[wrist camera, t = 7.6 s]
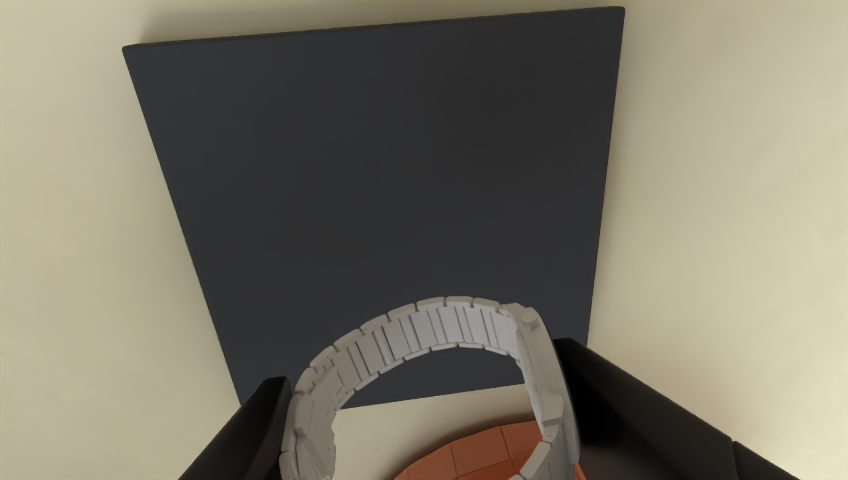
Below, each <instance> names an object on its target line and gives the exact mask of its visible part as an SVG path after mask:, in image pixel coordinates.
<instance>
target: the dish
mask: <svg viewBox="0 0 848 480" xmlns="http://www.w3.org/2000/svg"><path fill="white" fill-rule="evenodd" d="M542 437H543V436H542V434H541V431H540V428H539V425H538V423H537V420H535V421H528V422H521V423H515V424H508V425H502V426H501V427H500V426H497V427H494V428H491V429H488V430H485V431H482V432H479V433H476V434H473V435H470V436H467V437H464V438H461V439H458V440H456V441H453V442H451V443H448V444H446V445H444V446H443V447H441V448H439V449H437V450H436V451H434V452H432V453H430V454H429V455H427V456H425V457H423V458H421V459H420V460H418V461H416V462H414V463H413V464H411V465H409V466H408V468H406V469H405V470H404V471H402V472H401V473H400V474H399V475H398V476H397V477H396V478H395V479H394V480H508V479H510V478H511V477H513V476H515V475H516V474H517V475H520V476H521V473H520V470H521V469H522V467H523V466H524V465H525V463H526V462H527V460H528V459H529V458H530V456H531V455H532V453H533V452H534V450H535V448H536V447H537V445H538V443H539V442H543V438H542ZM575 468H576V472H575V476H574V480H586V478H585V476H584V474H583V472H582V470H581V468H580V466H579V464H578V463H577V464H575Z"/></svg>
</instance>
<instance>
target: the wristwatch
mask: <svg viewBox="0 0 848 480" xmlns="http://www.w3.org/2000/svg"><path fill="white" fill-rule="evenodd" d="M445 300H446V301H445ZM427 312H428V313H427ZM387 314H388V316H389V318H388V319H387V316H386V315H385V314H384V315H380V316H378V317H376V318H374V319H372V320H370V321H368V322H366V323H365V324H363V325H362V326H361V327H360V328H361V331H362V332H360V330H359V329H355V330H353V331H351V332H350V333H348V334H346V335H345V336H343V337H341V338H340V339H338V340H337V341H336V342H334V347H335V349H334V347H333V346H329V347H328V348H326V349H324V350H323V351H322V352H321V353H320V354H319V355H318V356H317V357H316V358H315V359H314V360H313V361H312V362H311V363H310V367H311V368H307V369H306V370H305V371H304V372H303V374H302V375H301V377H300V379H299V381H298V383H297V384H296V387H295V392H296V395H294V396H293V397H292V399H291V401H290V404H289V408H288V413H287V419H286V424H285V430H284V436H283V441H282V446H281V451H282V454H281V455H280V457H279V465H280V471H281V476H282V479H283V480H323V479H324V480H332V477H333V474H334V470H335V459H336V446H335V444H334V443H333V442H334V433H333V431H332V429H331V424H332V422H333V420H334V417H335V415H336V413H335V411H338V410H339V409H340V408H341V407H342V406H343V405H344V404H345V402H346V401H347V400H348V399H349V398H350V397H351V396H352V395H353V394H354V393H355V392H354V390H353V388H354V389H356V390H360V389H361V388H363V387H364V386H365V385H367V384H368V383H370V382H371V381H373V380H374V379H376V378H377V377H378V372H377V371H379V372H380V373H381V374H383V373H385V372H386V371H388V370H390V369H392V368H394V367H396V366H397V365H399V364H401V363H403V358H402V357H404V358H405V360H409V359H412V358H414V357H417V356H420V355H423V354H425V353H428V352H429V351H430V349H429V347H431V348H432V350H433V351H435V350H441V349H446V348H452V347H456V346H457V344H459V346H460V347H469V348H483V347H484V346H485V349H486V350H489V351H493V352H496V353H500V354H503V355H508V354H509V353H510V356H512V357H513V358H515V359H516V364H517V365H518V366H519V367H520V368H521V369H522V372H523V376H524V380H525V384H526V387H527V391H528V394H529V397H530V401H531V404H532V407H533V411H534V414H535V417H536V420H537V423H538V425H539V428H540V431H541V434H542V436H543V437H542V438H543V442H539V443H538V445H537V447H536V448H535V450H534V452H533V453H532V455H531V456H530V458H529V459H528V460H527V462H526V463H525V465H524V466H523V467H522V469H521V470H520V473H521V476H520V475H517V474H516V475H515V476H513V477H511V478H510V479H508V480H574V476H575V472H576V468H575V464H577V463H578V462H579V456H580V455H581V454H582V443H581V437H580V431H579V426H578V422H577V418H576V413H575V409H574V405H573V402H572V398H571V394H570V390H569V387H568V384H567V380H566V377H565V374H564V371H563V368H562V364H561V361H560V359H559V356H558V353H557V350H556V347H555V345H554V342H553V339H552V337H551V334H550V332H549V329H548V327H547V325H546V323H545V321H544V319H543V317H542V315H541V314H540V313H539V312H536V311H535V310H534V309H533V308H532V307H528V308H525V307H523V306H521V305H519V304H518V303H512V304H502V305H501V306H500V304H499V303H498V302H497V301H492V300H487V299H483V298H474V300H473V298H472V297H469V296H449V297H446V299H444V297H436V298H431V299H426V300H421V301H419V302H417V308H416V307H415V305H414V303H413V304H408V305H405V306H402V307H400V308H397V309H394V310H391V311H390V312H388V313H387ZM409 315H410V316H411V319H412V322H413V325H414V327H413V325H412V322H411V319H410V316H409ZM428 315H429V316H428ZM429 318H430V319H429ZM399 321H400V322H399ZM430 321H431V322H430ZM400 323H401V325H400ZM431 324H432V325H431ZM401 326H402V328H401ZM432 327H433V328H432ZM382 328H383V330H384V333H385V335H386V338H387V340H388V343H389V345H390V348H391V350H392V353H393V356H392V353H391V350H390V348H389V345H388V343H387V340H386V338H385V335H384V333H383V330H382ZM414 328H415V330H416V333H417V336H418V339H419V342H420V345H419V342H418V339H417V336H416V333H415V330H414ZM402 329H403V330H402ZM433 330H434V331H433ZM403 332H404V333H403ZM434 333H435V334H434ZM372 334H373V335H372ZM404 334H405V336H404ZM373 336H374V337H373ZM435 336H436V337H435ZM405 337H406V338H405ZM406 340H407V341H406ZM375 341H376V342H375ZM407 342H408V344H407ZM408 345H409V347H408ZM377 346H378V347H377ZM357 347H358V348H357ZM379 351H380V352H379ZM380 353H381V354H380ZM360 354H361V355H360ZM381 356H382V357H381ZM382 358H383V359H382ZM364 363H365V364H364ZM367 370H368V371H367Z"/></svg>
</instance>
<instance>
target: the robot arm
mask: <svg viewBox="0 0 848 480" xmlns="http://www.w3.org/2000/svg"><path fill="white" fill-rule="evenodd" d="M553 342H554V345H555V347H556V350H557V353H558V356H559V359H560V361H561V364H562V368H563V371H564V374H565V377H566V380H567V384H568V387H569V390H570V394H571V398H572V402H573V405H574V409H575V413H576V418H577V422H578V426H579V431H580V437H581V443H582V454H581V455H580V456H579V462H578V464H579V466H580V468H581V470H582V472H583V474H584V476H585V478H586V480H800V479H798V478H796V477H795V476H793V475H791V474H789V473H788V472H786V471H784V470H783V469H781V468H779V467H778V466H776V465H774V464H773V463H771V462H769V461H768V460H766V459H764V458H763V457H761V456H760V455H758V454H756V453H755V452H753V451H751V450H750V449H748V448H747V447H745V446H744V445H742V444H740V443H739V442H737V441H733V442H732V439H731V438H730V437H729V436H727V435H726V434H724V433H723V432H721V431H719V430H718V429H716V428H715V427H713V426H711V425H710V424H708V423H707V422H705V421H703V420H702V419H700V418H699V417H697V416H695V415H694V414H692V413H691V412H689V411H687V410H686V409H684V408H683V407H681V406H680V405H678V404H676V403H675V402H673V401H672V400H670V399H668V398H667V397H665V396H664V395H662V394H660V393H659V392H657V391H656V390H654V389H652V388H651V387H649V386H648V385H646V384H644V383H643V382H641V381H640V380H638V379H636V378H635V377H633V376H632V375H630V374H629V373H627V372H625V371H624V370H622V369H621V368H619V367H617V366H616V365H614V364H613V363H611V362H609V361H608V360H606V359H605V358H603V357H601V356H600V355H598V354H597V353H595V352H593V351H592V350H590V349H589V348H587V347H585V346H584V345H582V344H581V343H579V342H578V341H576V340H574V339H573V338H570V337H565V338H558V339H553ZM292 397H293V394H292V390H291V387H290V383H289V380H288V378H287V377H285V376H279V377H272V378H267V379H265V380H264V381H262V383H261V384H260V385H259V386H258V387H257V388H256V390H255V391H254V392H253V393H252V394H251V395H250V397H249V398H248V399H247V400H246V401H245V402H244V404H243V405H242V406H241V407H240V408H239V409H238V411H237V412H236V413H235V414H234V415H233V416H232V417H231V419H230V420H229V421H228V422H227V423H226V424H225V426H224V427H223V428H222V429H221V430H220V431H219V433H218V434H217V435H216V436H215V437H214V438H213V440H212V441H211V442H210V443H209V444H208V445H207V447H206V448H205V449H204V450H203V451H202V452H201V454H200V455H199V456H198V457H197V458H196V459H195V461H194V462H193V463H192V464H191V465H190V466H189V467H188V469H187V470H186V471H185V472H184V473H183V474H182V476H181V477H180V478H179V479H178V480H283V479H282V476H281V471H280V465H279V457H280V455H281V454H282V451H281V446H282V441H283V436H284V430H285V424H286V419H287V413H288V408H289V404H290V401H291V399H292Z"/></svg>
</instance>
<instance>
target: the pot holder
mask: <svg viewBox="0 0 848 480" xmlns="http://www.w3.org/2000/svg"><path fill="white" fill-rule="evenodd" d="M624 17H625V8H624V7H620V6H608V7H595V8H583V9H570V10H558V11H545V12H532V13H520V14H507V15H495V16H482V17H469V18H457V19H444V20H432V21H419V22H406V23H394V24H381V25H369V26H356V27H343V28H331V29H318V30H306V31H293V32H280V33H268V34H255V35H243V36H230V37H217V38H205V39H192V40H180V41H167V42H154V43H142V44H133V45H128V46H124V47H122V52H123V55H124V58H125V61H126V64H127V67H128V70H129V73H130V76H131V79H132V82H133V85H134V88H135V91H136V94H137V97H138V100H139V103H140V106H141V109H142V112H143V115H144V118H145V121H146V124H147V127H148V130H149V133H150V136H151V139H152V142H153V145H154V148H155V151H156V154H157V157H158V160H159V163H160V166H161V169H162V172H163V175H164V178H165V181H166V184H167V187H168V190H169V193H170V196H171V199H172V202H173V205H174V208H175V211H176V214H177V217H178V220H179V223H180V226H181V229H182V232H183V235H184V238H185V241H186V243H187V246H188V249H189V252H190V255H191V258H192V261H193V264H194V267H195V270H196V273H197V276H198V279H199V282H200V285H201V288H202V291H203V294H204V297H205V300H206V303H207V306H208V309H209V312H210V315H211V318H212V321H213V324H214V327H215V330H216V333H217V336H218V339H219V342H220V345H221V348H222V351H223V354H224V357H225V360H226V363H227V366H228V369H229V372H230V375H231V378H232V381H233V384H234V387H235V390H236V393H237V396H238V399H239V402H240V405H241V406H242V405H243V404H244V402H245V401H246V400H247V399H248V398H249V397H250V395H251V394H252V393H253V392H254V391H255V390H256V388H257V387H258V386H259V385H260V384H261V383H262V381H264V380H265V379H267V378H272V377H279V376H285V377H287V378H288V380H289V383H290V387H291V390H292V394H293V396H294V395H296V392H295V387H296V384H297V383H298V381H299V379H300V377H301V375H302V374H303V372H304V371H305V370H306V369H307V368H311V367H310V363H311V362H312V361H313V360H314V359H315V358H316V357H317V356H318V355H319V354H320V353H321V352H322V351H323V350H324V349H326V348H328V347H329V346H333V347H334V342H336V341H337V340H338V339H340V338H341V337H343V336H345V335H346V334H348V333H350V332H351V331H353V330H355V329H359V330H360V332H362V331H361V328H360V327H361V326H362V325H363V324H365V323H366V322H368V321H370V320H372V319H374V318H376V317H378V316H380V315H384V314H385V315H386V316H387V319H388V318H389V316H388V314H387V313H388V312H390V311H391V310H394V309H397V308H400V307H402V306H405V305H408V304H413V303H414V305H415V307H416V308H417V302H419V301H421V300H426V299H431V298H436V297H444V299H446V297H449V296H469V297H472V298H473V300H474V298H483V299H487V300H492V301H497V302H498V303H499V304H500V306H501V305H502V304H512V303H518V304H519V305H521V306H523V307H525V308H528V307H532V308H533V309H534V310H535V311H536V312H539V313H540V314H541V315H542V317H543V319H544V321H545V323H546V325H547V327H548V329H549V332H550V334H551V337H552V339H558V338H565V337H570V338H573V339H574V340H576V341H578V342H579V343H581V344H582V345H584V346H585V347H587V340H588V331H589V323H590V314H591V305H592V296H593V288H594V279H595V270H596V261H597V253H598V244H599V235H600V226H601V218H602V209H603V200H604V191H605V183H606V174H607V165H608V156H609V148H610V139H611V130H612V121H613V113H614V104H615V95H616V87H617V78H618V69H619V60H620V52H621V43H622V34H623V25H624ZM445 301H446V300H445ZM427 313H428V312H427ZM409 316H410V315H409ZM428 316H429V315H428ZM410 319H411V316H410ZM429 319H430V318H429ZM399 322H400V321H399ZM411 322H412V319H411ZM430 322H431V321H430ZM400 325H401V323H400ZM412 325H413V322H412ZM431 325H432V324H431ZM413 327H414V325H413ZM401 328H402V326H401ZM432 328H433V327H432ZM382 330H383V328H382ZM402 330H403V329H402ZM414 330H415V328H414ZM433 331H434V330H433ZM383 333H384V330H383ZM403 333H404V332H403ZM415 333H416V330H415ZM434 334H435V333H434ZM372 335H373V334H372ZM384 335H385V333H384ZM404 336H405V334H404ZM416 336H417V333H416ZM373 337H374V336H373ZM435 337H436V336H435ZM385 338H386V335H385ZM405 338H406V337H405ZM417 339H418V336H417ZM386 340H387V338H386ZM406 341H407V340H406ZM375 342H376V341H375ZM418 342H419V339H418ZM387 343H388V340H387ZM407 344H408V342H407ZM388 345H389V343H388ZM419 345H420V342H419ZM377 347H378V346H377ZM408 347H409V345H408ZM357 348H358V347H357ZM389 348H390V345H389ZM334 349H335V347H334ZM429 349H430V351H429V352H428V353H425V354H423V355H420V356H417V357H414V358H412V359H409V360H405V358H404V357H402V358H403V363H401V364H399V365H397V366H396V367H394V368H392V369H390V370H388V371H386V372H385V373H383V374H381V373H380V372H379V371H377V372H378V377H377V378H376V379H374V380H373V381H371V382H370V383H368V384H367V385H365V386H364V387H363V388H361V389H360V390H356V389H354V388H353V390H354V392H355V393H354V394H353V395H352V396H351V397H350V398H349V399H348V400H347V401H346V402H345V404H344V405H343V406H342V407H341V408H340V409H346V408H354V407H361V406H368V405H375V404H382V403H389V402H396V401H403V400H410V399H418V398H425V397H432V396H439V395H446V394H453V393H460V392H467V391H475V390H482V389H489V388H496V387H503V386H510V385H517V384H524V383H525V380H524V376H523V372H522V369H521V368H520V367H519V366H518V365H517V364H516V359H515V358H513V357H512V356H510V353H509V354H508V355H503V354H500V353H496V352H493V351H489V350H486V349H485V346H484V347H483V348H469V347H460V346H459V344H457V346H456V347H452V348H446V349H441V350H435V351H433V350H432V348H431V347H429ZM390 350H391V348H390ZM379 352H380V351H379ZM391 353H392V350H391ZM380 354H381V353H380ZM360 355H361V354H360ZM392 356H393V353H392ZM381 357H382V356H381ZM382 359H383V358H382ZM364 364H365V363H364ZM367 371H368V370H367Z"/></svg>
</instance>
